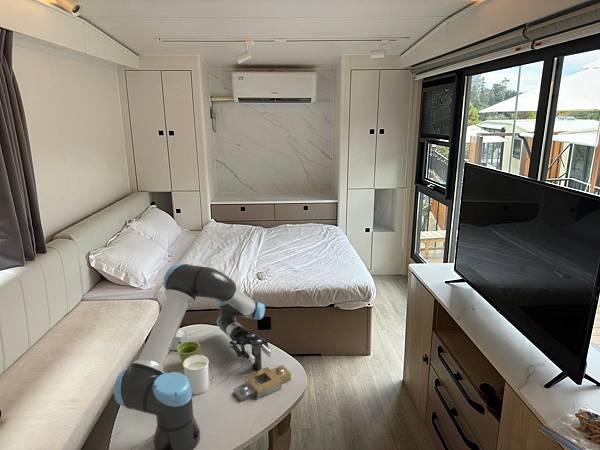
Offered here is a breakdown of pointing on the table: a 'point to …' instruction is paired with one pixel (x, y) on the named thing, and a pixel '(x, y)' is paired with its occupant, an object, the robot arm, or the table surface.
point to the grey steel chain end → (247, 392)
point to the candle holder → (197, 373)
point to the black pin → (256, 352)
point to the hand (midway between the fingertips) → (262, 357)
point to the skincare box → (179, 339)
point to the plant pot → (187, 350)
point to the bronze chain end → (274, 376)
